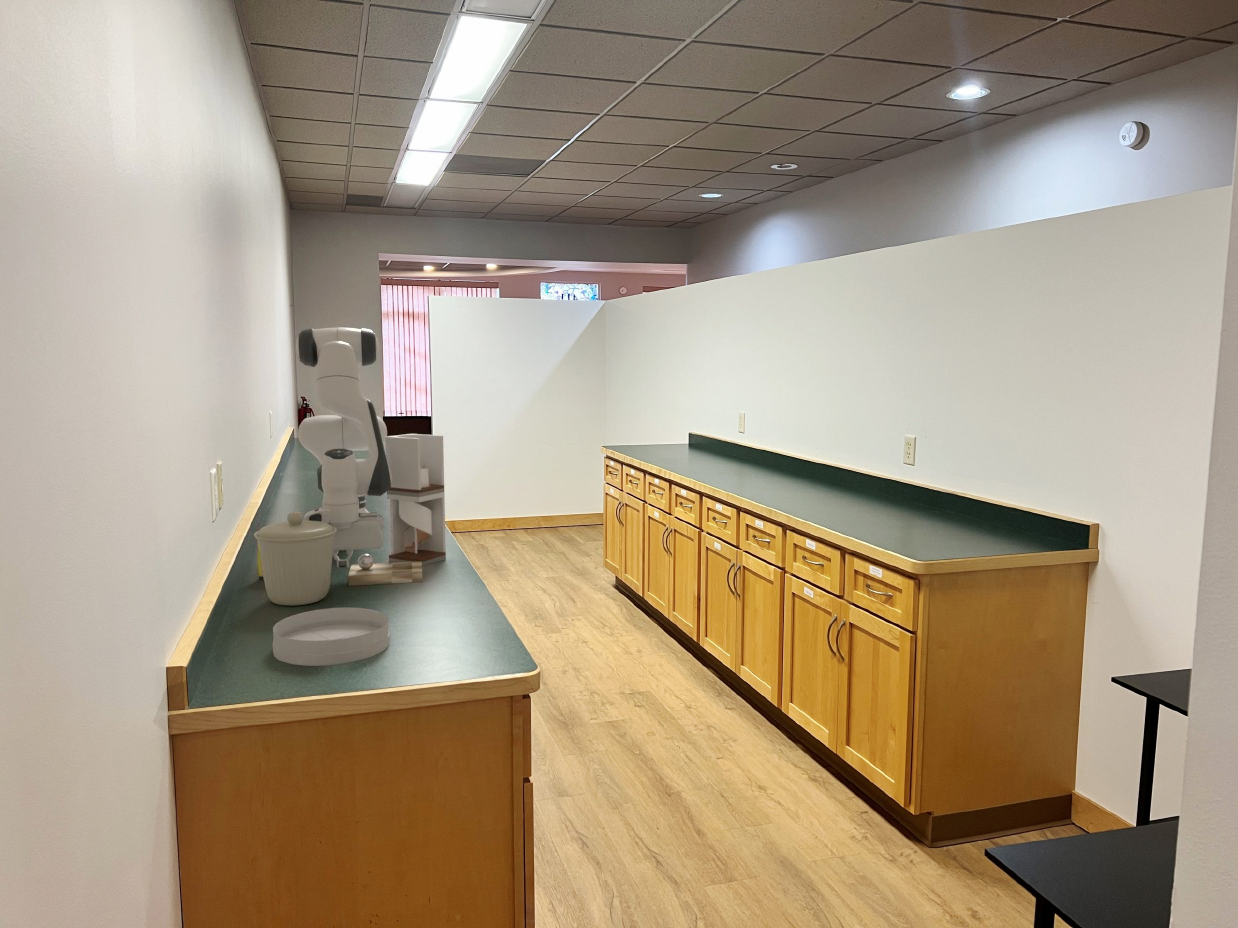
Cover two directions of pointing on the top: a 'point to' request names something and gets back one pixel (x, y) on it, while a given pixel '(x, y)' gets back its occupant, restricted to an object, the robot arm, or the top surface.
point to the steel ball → (365, 561)
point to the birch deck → (386, 573)
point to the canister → (296, 559)
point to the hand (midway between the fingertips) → (343, 566)
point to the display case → (416, 498)
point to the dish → (331, 636)
